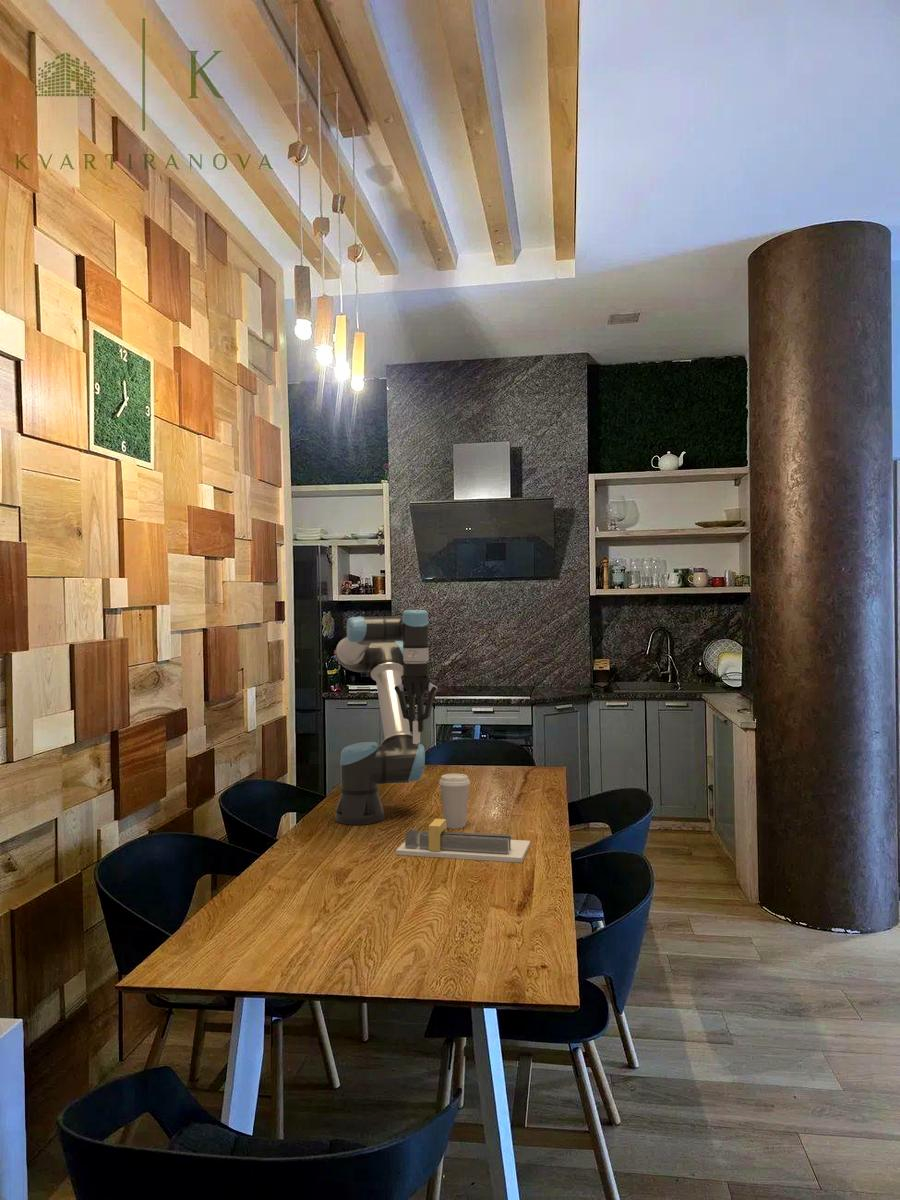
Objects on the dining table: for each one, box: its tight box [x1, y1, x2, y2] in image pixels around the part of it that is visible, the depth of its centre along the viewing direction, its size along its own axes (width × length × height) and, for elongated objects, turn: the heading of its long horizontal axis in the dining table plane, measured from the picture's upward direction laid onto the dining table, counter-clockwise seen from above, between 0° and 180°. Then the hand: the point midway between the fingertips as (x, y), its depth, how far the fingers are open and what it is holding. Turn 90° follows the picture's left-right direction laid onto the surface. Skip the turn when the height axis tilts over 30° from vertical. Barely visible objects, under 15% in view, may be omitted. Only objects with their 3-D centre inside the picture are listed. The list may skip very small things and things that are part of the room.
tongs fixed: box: [404, 829, 509, 854], centre depth 225 cm, size 28×4×4 cm, turn 77°
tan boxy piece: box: [428, 818, 447, 851], centre depth 227 cm, size 3×8×6 cm, turn 167°
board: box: [395, 839, 531, 863], centre depth 228 cm, size 34×16×1 cm, turn 77°
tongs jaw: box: [421, 830, 512, 850], centre depth 226 cm, size 24×2×4 cm, turn 79°
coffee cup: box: [438, 773, 471, 830], centre depth 253 cm, size 10×10×15 cm
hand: (416, 742), depth 245 cm, fingers closed
